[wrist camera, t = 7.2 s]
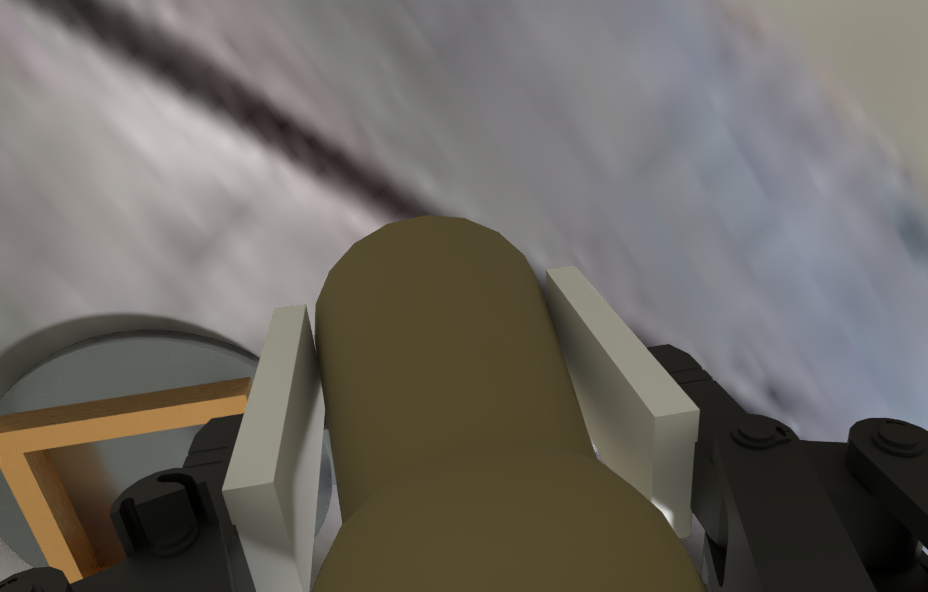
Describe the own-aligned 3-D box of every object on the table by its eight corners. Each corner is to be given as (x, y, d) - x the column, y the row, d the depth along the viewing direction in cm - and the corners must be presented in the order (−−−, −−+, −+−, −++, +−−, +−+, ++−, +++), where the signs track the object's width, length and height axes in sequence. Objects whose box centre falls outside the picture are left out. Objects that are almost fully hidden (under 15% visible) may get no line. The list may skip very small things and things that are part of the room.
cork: (370, 455, 18) (384, 1004, 8) (270, 269, 15) (107, 738, 5) (571, 376, 18) (839, 829, 8) (504, 177, 15) (777, 476, 5)
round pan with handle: (58, 614, 37) (36, 659, 34) (-74, 360, 29) (-114, 393, 27) (634, 507, 40) (652, 541, 38) (642, 256, 33) (666, 277, 30)
